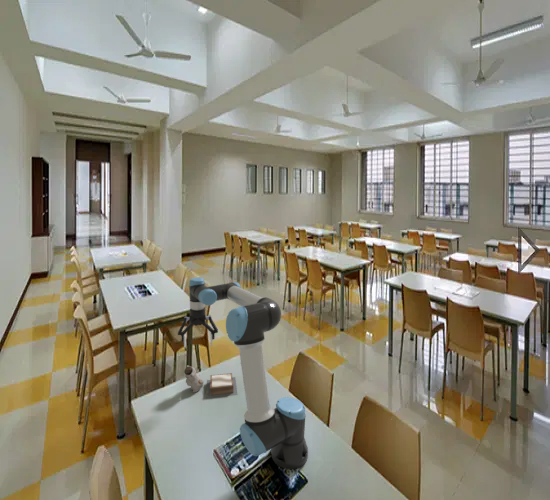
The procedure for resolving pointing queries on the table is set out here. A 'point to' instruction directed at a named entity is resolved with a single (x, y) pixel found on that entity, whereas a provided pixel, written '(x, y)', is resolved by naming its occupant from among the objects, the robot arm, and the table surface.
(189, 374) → the figurine
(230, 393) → the mat
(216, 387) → the plinth
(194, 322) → the robot arm
